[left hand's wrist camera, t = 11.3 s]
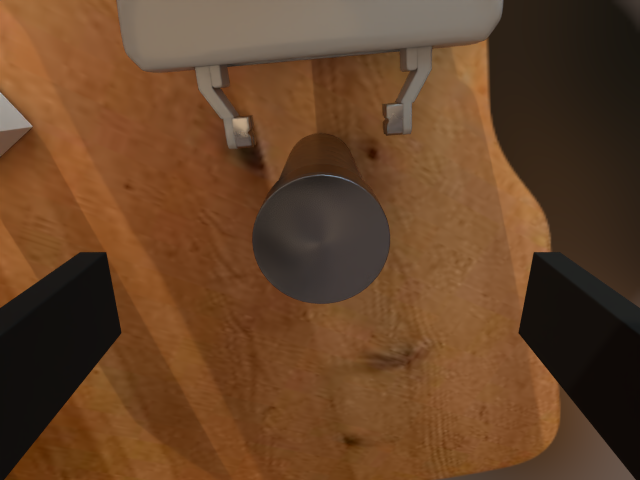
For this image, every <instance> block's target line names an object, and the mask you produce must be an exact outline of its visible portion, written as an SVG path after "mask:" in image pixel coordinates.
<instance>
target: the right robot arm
mask: <svg viewBox="0 0 640 480" xmlns="http://www.w3.org/2000/svg"><path fill="white" fill-rule="evenodd" d="M117 9H118V16H119V23H120V30H121V36H122V41H123V46H124V49H125V52H126V54H127V55H128V57H129V58H130V59H131V60H132V61H133V62H134V63H135V64H136V65H137V66H138V67H139V68H141V69H142V70H143V71H147V72H155V73H164V72H176V71H187V70H195V71H196V77H197V83H198V89H199V91H200V92H201V93H202V95H203V96H204V97H205V99H206V100H207V101H208V102H209V104H210V105H211V106H212V108H213V109H214V110H215V112H216V113H217V114H218V116H219V117H220V118H221V119H223V121H224V127H225V133H226V140H227V145H228V148H229V149H237V148H247V147H254V145H255V144H256V138H255V133H254V132H253V131H252V129H253V127H254V122H253V115H248V116H239V114H238V112H237V111H236V110H235V108H234V107H233V105H232V104H231V102H230V101H229V100H228V98H227V97H226V95H225V94H224V93H223V91H222V90H221V88H223V87H229V85H230V83H229V75H228V68H227V67H232V66H243V65H254V64H265V63H276V62H287V61H298V60H310V59H321V58H332V57H343V56H354V55H365V54H376V53H387V52H399V51H400V70H401V71H402V72H404V71H410V73H409V75H408V77H407V79H406V81H405V83H404V85H403V87H402V89H401V91H400V93H399V95H398V97H397V99H396V101H395V102H397V103H387V104H382V113H383V116H384V118H385V120H384V121H383V132H384V134H386V136H388V135H402V134H411V130H412V103H413V102H414V101H415V99H416V97H417V96H418V94H419V92H420V90H421V88H422V86H423V84H424V83H425V81H426V79H427V77H428V75H429V73H430V71H431V70H432V48H443V47H454V46H465V45H471V44H476V43H478V42H481V41H484V40H486V39H487V38H488V36H489V35H490V34H491V33H492V31H493V30H494V28H495V27H496V25H497V24H498V22H499V21H500V18H501V15H502V9H503V0H117Z"/></svg>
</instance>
